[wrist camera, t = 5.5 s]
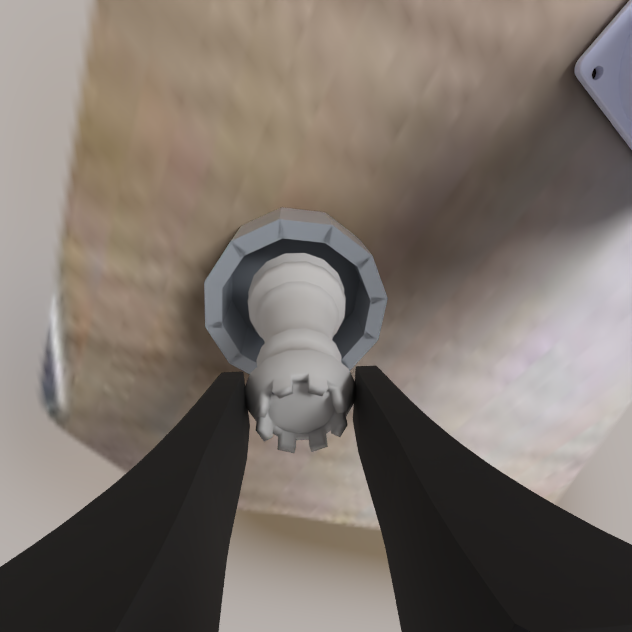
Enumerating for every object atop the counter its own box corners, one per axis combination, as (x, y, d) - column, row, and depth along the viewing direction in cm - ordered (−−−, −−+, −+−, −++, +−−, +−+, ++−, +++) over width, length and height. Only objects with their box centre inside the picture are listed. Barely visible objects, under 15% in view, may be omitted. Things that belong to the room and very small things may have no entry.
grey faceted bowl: (400, 270, 19) (421, 293, 16) (311, 372, 22) (314, 409, 19) (275, 173, 17) (271, 178, 14) (191, 303, 19) (171, 332, 16)
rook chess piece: (334, 238, 15) (373, 333, 8) (350, 324, 17) (392, 459, 10) (236, 261, 15) (188, 372, 8) (264, 342, 17) (245, 487, 10)
